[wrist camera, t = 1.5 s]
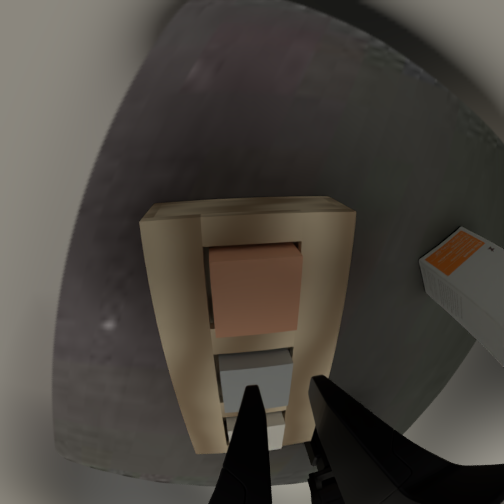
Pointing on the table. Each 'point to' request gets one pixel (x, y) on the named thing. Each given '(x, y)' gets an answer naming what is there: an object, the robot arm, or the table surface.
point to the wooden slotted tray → (201, 307)
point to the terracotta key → (255, 288)
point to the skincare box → (469, 286)
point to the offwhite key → (273, 428)
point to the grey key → (256, 376)
